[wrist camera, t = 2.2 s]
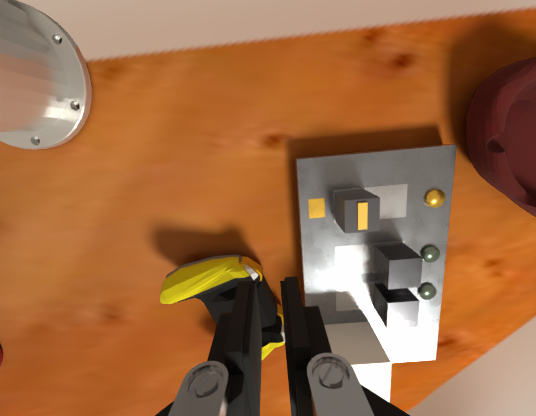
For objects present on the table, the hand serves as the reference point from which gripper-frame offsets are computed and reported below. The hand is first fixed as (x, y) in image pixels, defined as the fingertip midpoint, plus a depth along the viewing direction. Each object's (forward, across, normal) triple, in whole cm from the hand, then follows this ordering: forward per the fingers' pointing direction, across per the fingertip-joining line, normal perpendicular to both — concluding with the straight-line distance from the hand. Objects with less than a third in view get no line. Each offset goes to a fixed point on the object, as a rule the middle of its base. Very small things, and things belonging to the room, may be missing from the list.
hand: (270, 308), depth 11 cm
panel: (+17, -10, +8) cm, 21 cm away
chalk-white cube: (+15, -7, +17) cm, 24 cm away
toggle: (+15, -8, 0) cm, 17 cm away
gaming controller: (+18, +5, +11) cm, 21 cm away
